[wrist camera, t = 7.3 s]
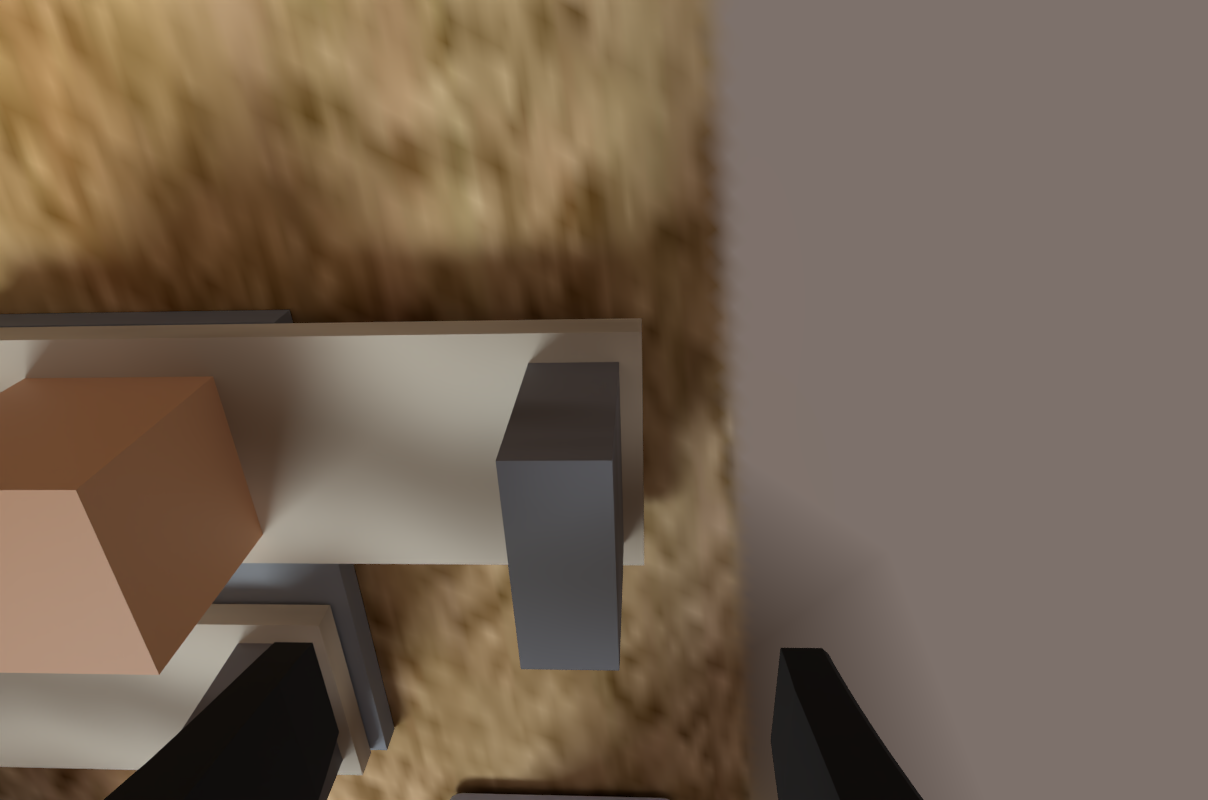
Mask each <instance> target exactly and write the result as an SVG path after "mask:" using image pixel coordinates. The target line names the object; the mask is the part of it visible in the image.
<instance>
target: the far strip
mask: <svg viewBox="0 0 1208 800" xmlns="http://www.w3.org/2000/svg"><path fill="white" fill-rule="evenodd" d="M274 642H310V643H313V646H314V649H315V652H316V656H317V659H318V662H319V666H320V669H321V672H322V676H323V679H324V683H325V686H326V689H327V693H328V696H329V699H330V703H331V706H332V709H333V713H334V716H335V720H336V723H337V726H338V730H339V735H338V738H337V741H336V745H335V748H334V752H333V755H332V759H331V762H330V766H329V769H328V772H327V775H326V779H325V782H324V785H323V788H322V791H321V794H320V797H319V800H327V798H328V796H329V793H330V791H331V788H332V786H333V783H334V781H335V778H336V776H337V774H338V775H363V773H364V770H365V767H366V765H367V762H368V759H369V757H370V754H371V750H370V747H369V743H368V740H367V736H366V733H365V729H364V725H363V722H362V718H361V715H360V711H359V707H358V704H357V700H356V697H355V693H354V689H353V686H352V682H351V679H350V675H349V671H348V668H347V664H346V661H345V657H344V653H343V650H342V646H341V643H340V639H339V635H338V632H337V628H336V625H335V621H334V617H333V614H332V610H331V607H330V605H283V604H211V606H210V607H209V608H208V610H207V611H206V612H205V614H204V615H203V616H202V618H201V619H200V620H199V622H198V623H197V624H196V626H195V627H194V629H193V630H192V631H191V633H190V634H189V635H188V637H187V638H186V639H185V641H184V642H183V643H182V645H181V646H180V647H179V649H178V650H177V652H176V653H175V654H174V656H173V657H172V658H171V660H170V661H169V662H168V664H167V665H166V666H165V668H164V669H163V670H162V672H161V673H160V675H125V674H56V673H0V767H27V768H72V769H116V770H139V769H140V768H141V767H142V766H143V765H144V764H145V763H147V762H148V761H149V760H150V759H151V758H152V757H153V756H154V755H155V754H156V753H157V752H158V751H159V750H161V749H162V748H163V747H164V746H165V745H166V744H167V743H168V742H169V741H170V740H171V739H172V738H174V737H175V736H176V735H177V734H178V733H179V732H180V731H181V730H182V729H183V728H184V727H185V726H187V725H188V724H189V723H190V722H191V721H192V720H193V719H194V718H195V717H196V716H197V715H198V714H199V713H200V712H201V711H202V710H203V709H205V708H206V707H207V706H208V705H209V704H210V703H211V702H212V701H213V700H214V699H215V698H216V697H217V696H218V695H219V694H220V693H221V692H222V691H223V690H225V689H226V688H227V687H228V686H229V685H230V684H231V683H232V682H233V681H234V680H235V679H236V678H237V677H238V676H239V675H240V674H241V673H242V672H243V671H244V670H246V669H247V668H248V667H249V666H250V665H251V664H252V663H253V662H254V661H255V660H256V659H257V658H258V657H259V656H260V655H261V654H262V653H263V652H265V651H266V650H267V649H268V648H269V647H270V646H271V645H272V644H273V643H274Z"/></svg>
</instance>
